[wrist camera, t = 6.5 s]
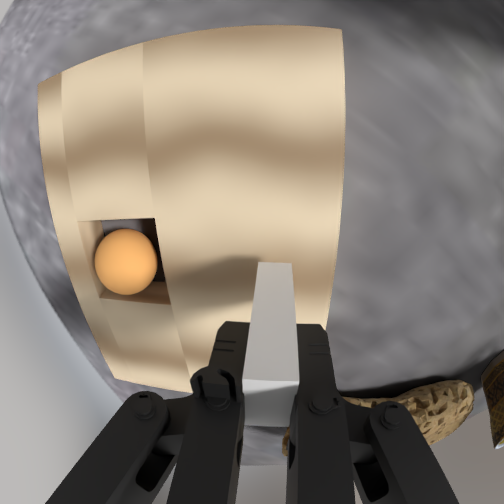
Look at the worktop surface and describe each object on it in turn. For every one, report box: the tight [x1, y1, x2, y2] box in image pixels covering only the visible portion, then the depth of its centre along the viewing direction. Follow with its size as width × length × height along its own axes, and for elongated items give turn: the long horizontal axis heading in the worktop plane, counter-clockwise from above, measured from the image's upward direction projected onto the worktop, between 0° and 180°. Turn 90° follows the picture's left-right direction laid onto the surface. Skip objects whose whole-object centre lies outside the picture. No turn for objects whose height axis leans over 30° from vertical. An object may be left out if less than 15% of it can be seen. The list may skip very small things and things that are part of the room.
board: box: [38, 25, 345, 393], centre depth 16 cm, size 24×17×2 cm
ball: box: [95, 229, 158, 295], centre depth 16 cm, size 4×4×4 cm
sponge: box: [282, 380, 474, 456], centre depth 21 cm, size 13×8×20 cm
